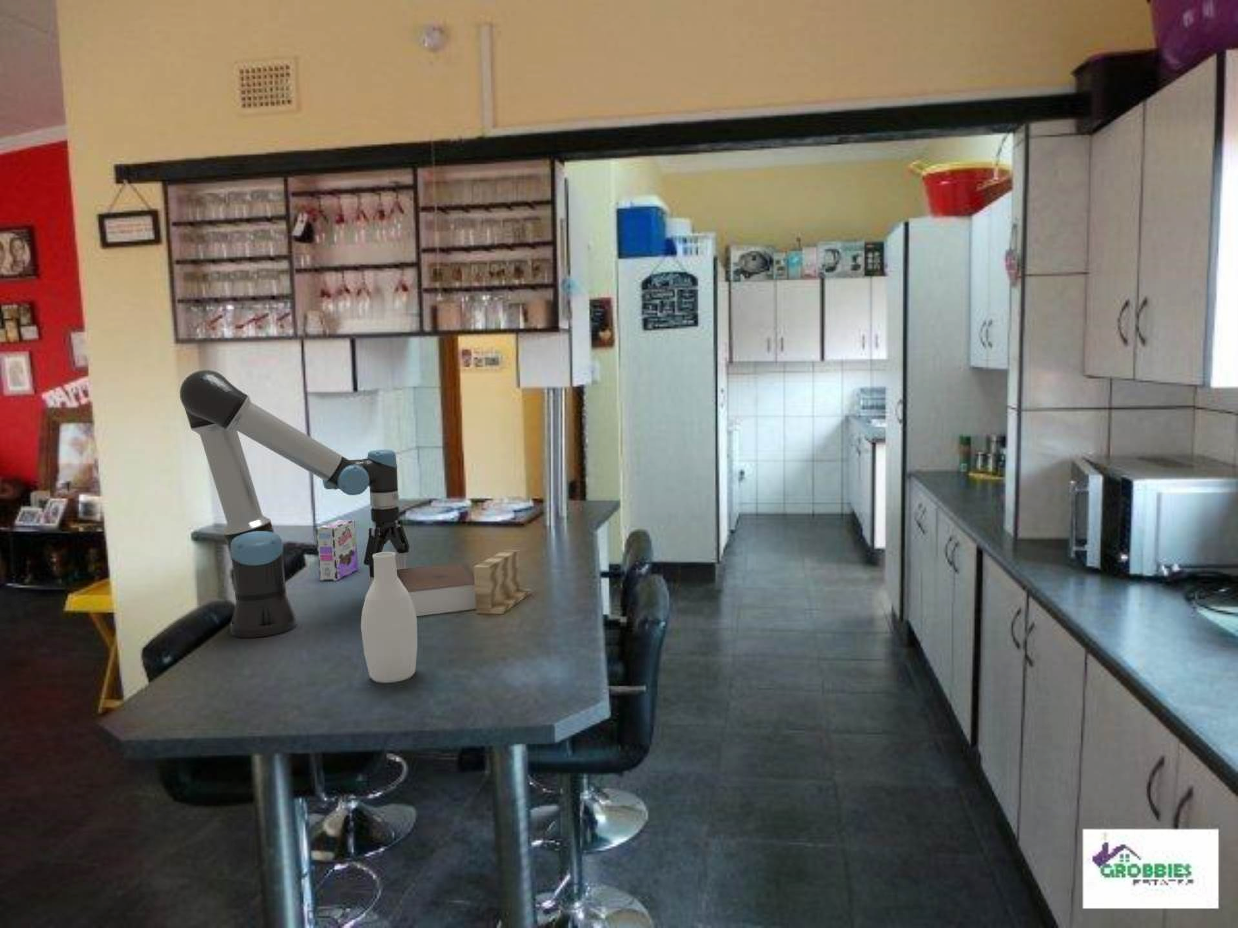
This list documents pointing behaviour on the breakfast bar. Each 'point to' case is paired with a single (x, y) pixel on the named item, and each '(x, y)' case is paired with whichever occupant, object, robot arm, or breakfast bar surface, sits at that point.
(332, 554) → the candy box
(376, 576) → the bottle
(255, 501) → the robot arm
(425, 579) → the book
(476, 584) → the bookend
